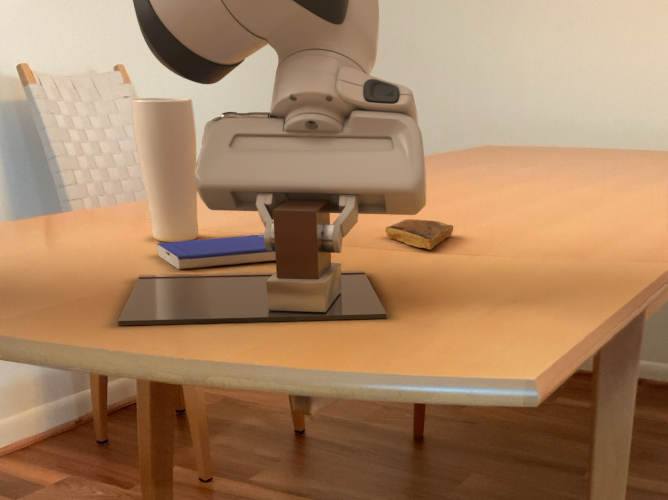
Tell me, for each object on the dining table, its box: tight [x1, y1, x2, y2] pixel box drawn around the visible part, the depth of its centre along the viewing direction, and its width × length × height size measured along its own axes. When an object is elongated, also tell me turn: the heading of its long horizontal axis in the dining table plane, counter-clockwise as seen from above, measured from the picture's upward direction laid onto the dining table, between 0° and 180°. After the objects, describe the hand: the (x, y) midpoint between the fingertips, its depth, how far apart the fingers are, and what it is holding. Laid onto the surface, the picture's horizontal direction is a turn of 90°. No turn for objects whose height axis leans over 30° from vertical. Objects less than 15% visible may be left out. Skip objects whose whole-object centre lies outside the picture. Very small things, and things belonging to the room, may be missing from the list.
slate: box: [117, 270, 388, 327], centre depth 83 cm, size 22×17×1 cm
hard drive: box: [156, 233, 276, 270], centre depth 99 cm, size 2×8×12 cm
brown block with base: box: [266, 199, 342, 312], centre depth 79 cm, size 8×5×8 cm, turn 174°
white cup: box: [130, 97, 199, 243], centre depth 105 cm, size 7×7×15 cm
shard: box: [384, 218, 454, 251], centre depth 108 cm, size 11×8×2 cm
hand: (302, 248), depth 78 cm, fingers closed on brown block with base, 3 cm apart
